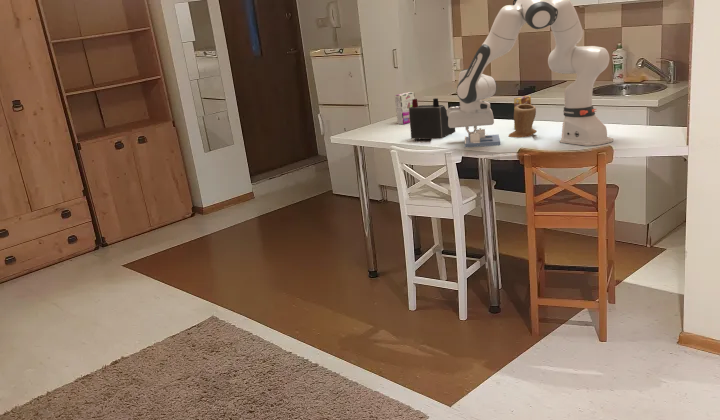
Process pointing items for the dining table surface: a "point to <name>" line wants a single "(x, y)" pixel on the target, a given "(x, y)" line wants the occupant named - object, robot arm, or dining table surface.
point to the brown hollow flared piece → (524, 120)
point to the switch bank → (483, 141)
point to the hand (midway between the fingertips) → (471, 136)
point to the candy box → (521, 102)
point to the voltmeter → (429, 121)
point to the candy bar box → (403, 107)
